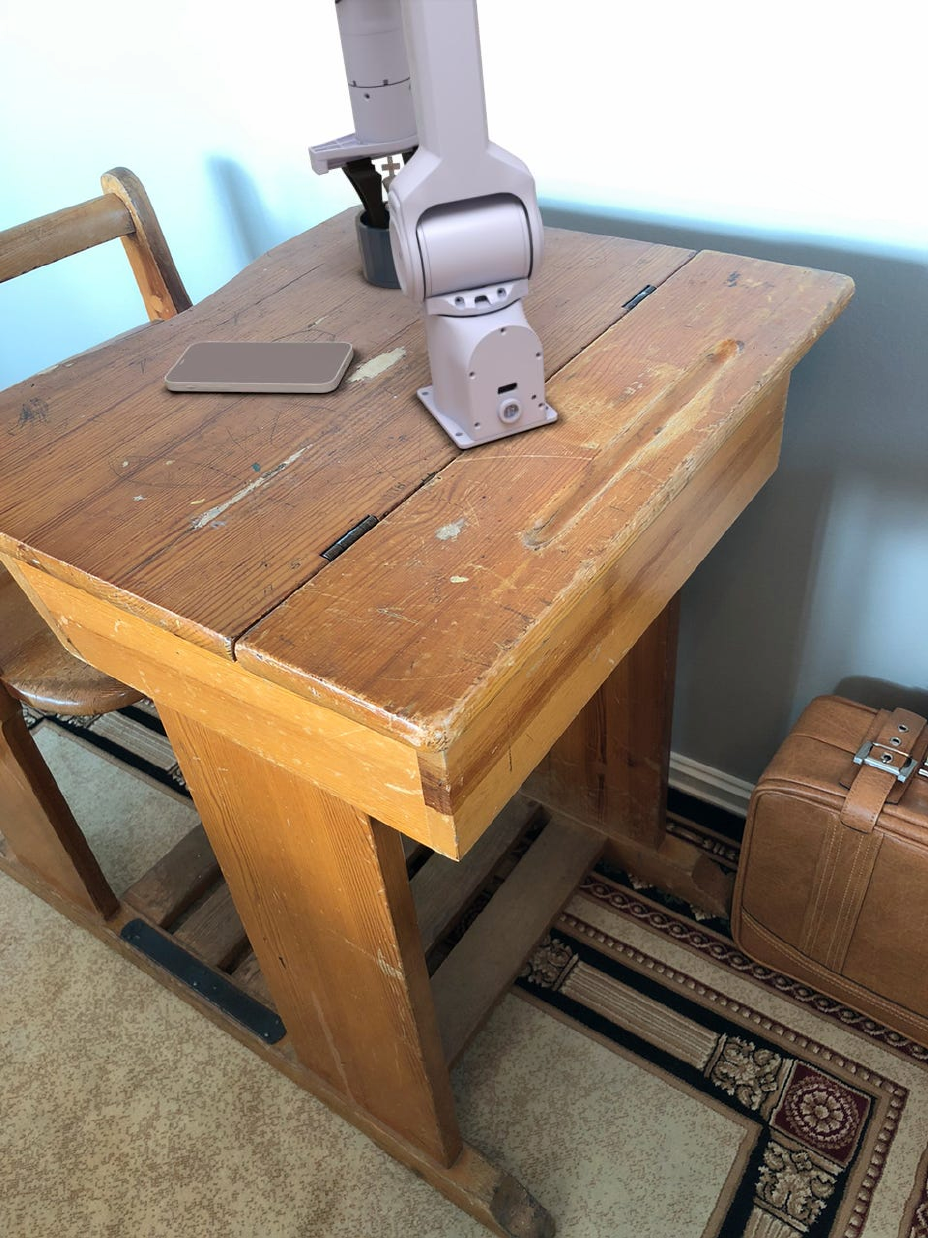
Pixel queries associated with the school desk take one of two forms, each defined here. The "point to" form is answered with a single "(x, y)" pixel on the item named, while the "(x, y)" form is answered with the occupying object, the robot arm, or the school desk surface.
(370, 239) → the pen holder
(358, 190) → the robot arm
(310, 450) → the school desk surface
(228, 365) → the smartphone
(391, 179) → the chess piece
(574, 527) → the school desk surface
